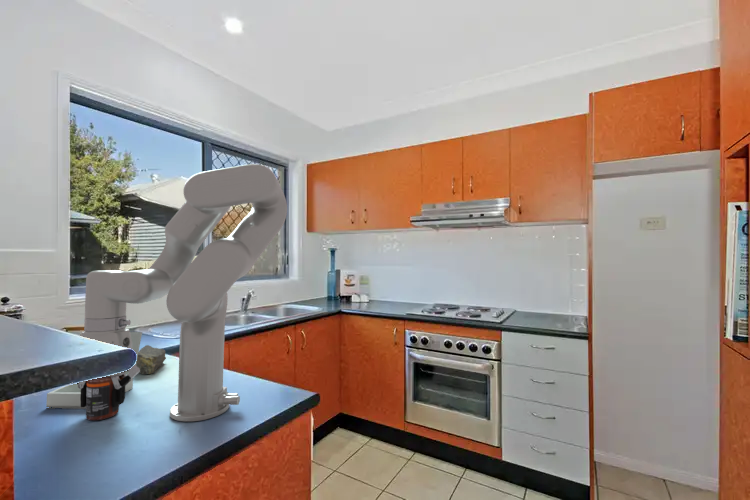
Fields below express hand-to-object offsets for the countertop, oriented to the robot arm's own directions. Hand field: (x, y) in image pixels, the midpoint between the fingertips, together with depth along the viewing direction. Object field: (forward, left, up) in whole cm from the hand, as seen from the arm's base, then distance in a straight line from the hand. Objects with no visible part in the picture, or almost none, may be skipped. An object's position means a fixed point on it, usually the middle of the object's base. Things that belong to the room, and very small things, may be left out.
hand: (102, 404), depth 81 cm
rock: (+10, -35, -3) cm, 37 cm away
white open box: (+10, -12, -3) cm, 16 cm away
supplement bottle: (0, 0, -3) cm, 3 cm away
